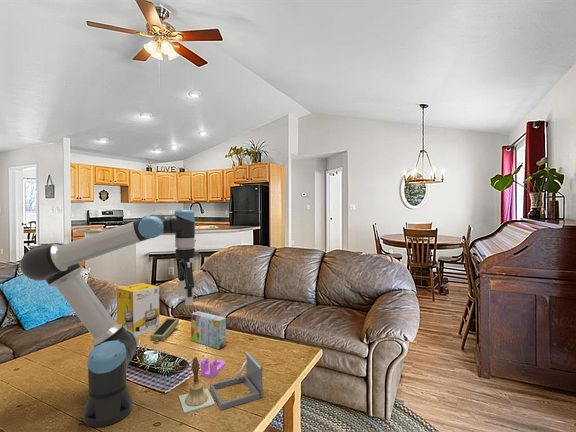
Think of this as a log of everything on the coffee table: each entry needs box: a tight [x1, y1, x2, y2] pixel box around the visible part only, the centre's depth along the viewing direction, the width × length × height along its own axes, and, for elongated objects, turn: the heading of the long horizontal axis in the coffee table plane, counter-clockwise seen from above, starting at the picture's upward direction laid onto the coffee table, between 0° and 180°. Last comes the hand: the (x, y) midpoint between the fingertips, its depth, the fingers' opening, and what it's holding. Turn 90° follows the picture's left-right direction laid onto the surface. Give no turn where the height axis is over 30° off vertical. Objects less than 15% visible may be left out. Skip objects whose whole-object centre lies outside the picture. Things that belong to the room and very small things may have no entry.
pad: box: [178, 388, 216, 415], centre depth 123 cm, size 11×11×1 cm
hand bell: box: [185, 356, 208, 406], centre depth 123 cm, size 8×8×16 cm
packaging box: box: [116, 282, 160, 337], centre depth 192 cm, size 16×16×25 cm
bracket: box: [200, 357, 226, 379], centre depth 147 cm, size 13×6×7 cm, turn 163°
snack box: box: [190, 310, 227, 351], centre depth 174 cm, size 21×6×15 cm, turn 58°
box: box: [149, 317, 180, 345], centre depth 184 cm, size 8×22×5 cm, turn 174°
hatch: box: [209, 350, 264, 411], centre depth 128 cm, size 16×15×12 cm
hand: (185, 300), depth 133 cm, fingers open, 13 cm apart
